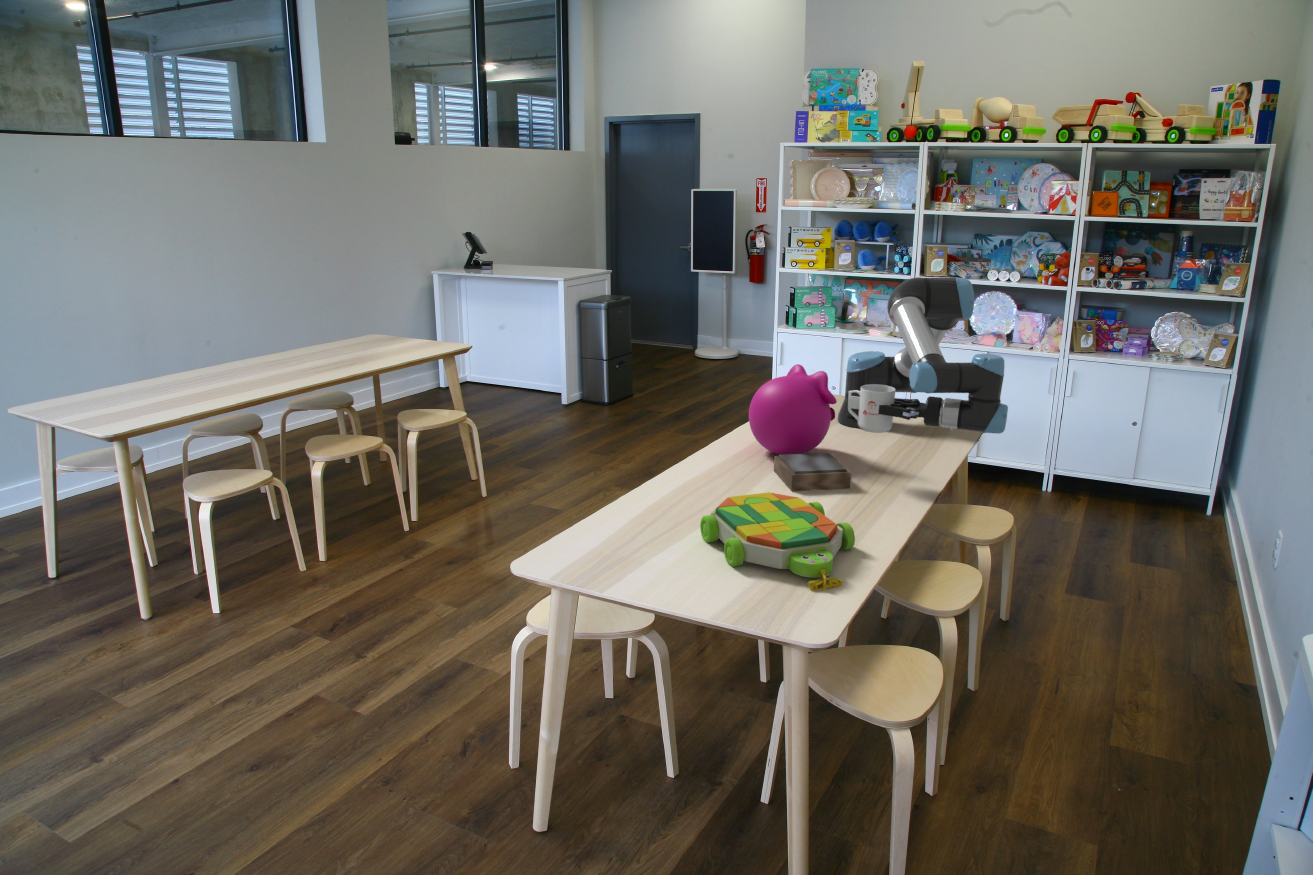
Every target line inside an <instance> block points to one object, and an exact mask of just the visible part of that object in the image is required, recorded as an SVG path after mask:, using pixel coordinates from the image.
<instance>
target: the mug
mask: <svg viewBox="0 0 1313 875" xmlns="http://www.w3.org/2000/svg"><path fill="white" fill-rule="evenodd" d="M895 391H896V390H895V388H893V387H890V386H886V385H877V384H870V385H863V386H861V389H860V391H858V390H853V391H849V392H848V393H849V395H848V405H849V398H851V393H853V392H856V393H858V394H859V395H860V402H859V414H858V416H857V415H856V414H855V413H854V412H853V411H852V410H851V408H848V411H849V412H850V414H852V415H853V416H854V417H855V418H856V419H857V421H858V426H859V427H860V428H859V429H860V430H862V431H864V432H867V433H874V434H881V433H882V434H883V433H887V432H889V431H890V430H891V429H892V427H893V422H894V417H893V416H887V415H881V414H878V413H879V405H890V406H891V404H893V403H894V401H895V398H896V392H895Z"/></svg>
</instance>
